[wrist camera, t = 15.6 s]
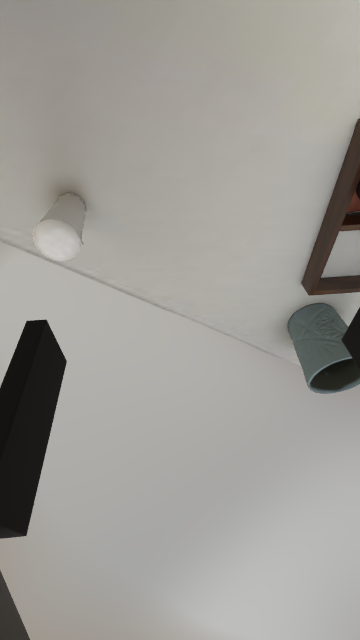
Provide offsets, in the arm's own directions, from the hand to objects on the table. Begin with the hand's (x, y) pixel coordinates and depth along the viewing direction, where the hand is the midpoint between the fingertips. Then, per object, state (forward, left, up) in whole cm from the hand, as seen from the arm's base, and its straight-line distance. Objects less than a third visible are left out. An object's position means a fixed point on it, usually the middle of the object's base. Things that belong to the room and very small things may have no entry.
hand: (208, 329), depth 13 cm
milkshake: (0, -13, -27) cm, 30 cm away
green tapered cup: (+37, +9, -27) cm, 47 cm away
